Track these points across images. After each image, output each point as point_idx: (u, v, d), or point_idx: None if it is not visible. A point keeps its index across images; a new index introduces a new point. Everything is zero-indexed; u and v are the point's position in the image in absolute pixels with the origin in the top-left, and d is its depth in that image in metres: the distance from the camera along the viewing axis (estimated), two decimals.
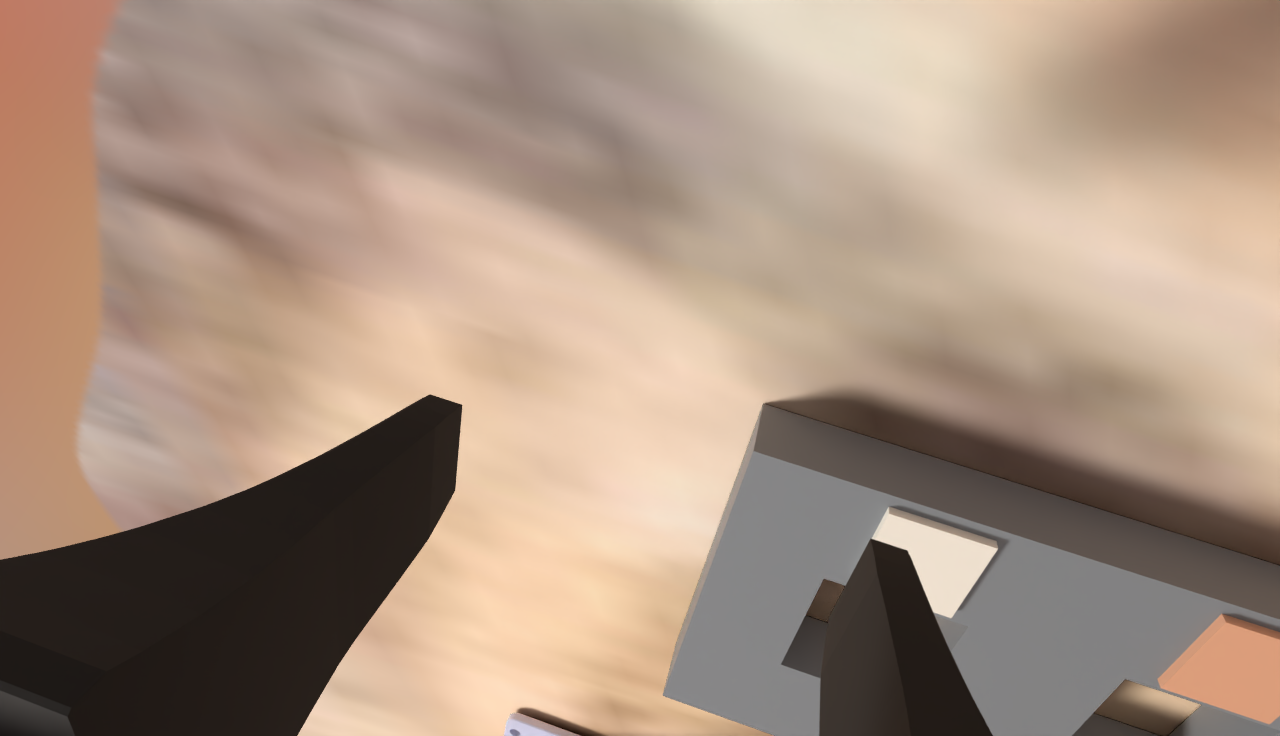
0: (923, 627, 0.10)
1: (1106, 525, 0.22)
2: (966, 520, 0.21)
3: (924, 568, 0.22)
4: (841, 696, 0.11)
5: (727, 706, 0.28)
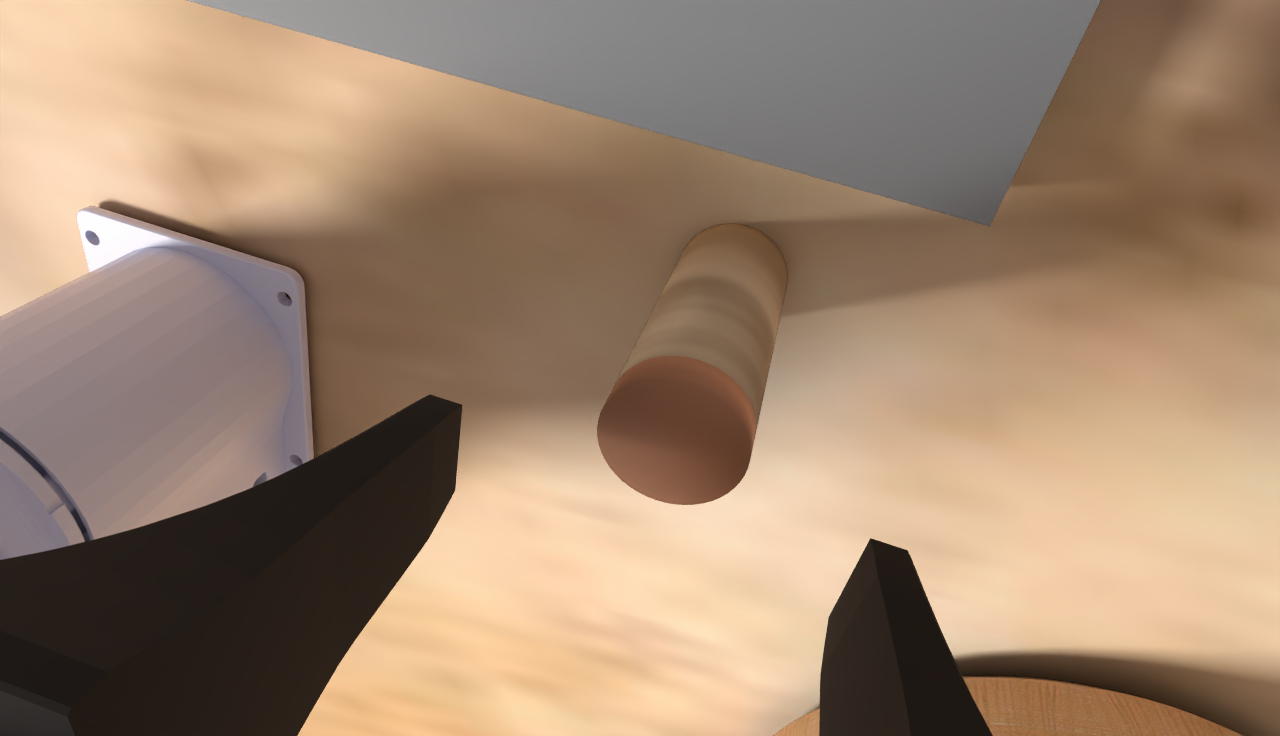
0: (923, 627, 0.10)
1: None
2: None
3: None
4: (841, 697, 0.11)
5: None
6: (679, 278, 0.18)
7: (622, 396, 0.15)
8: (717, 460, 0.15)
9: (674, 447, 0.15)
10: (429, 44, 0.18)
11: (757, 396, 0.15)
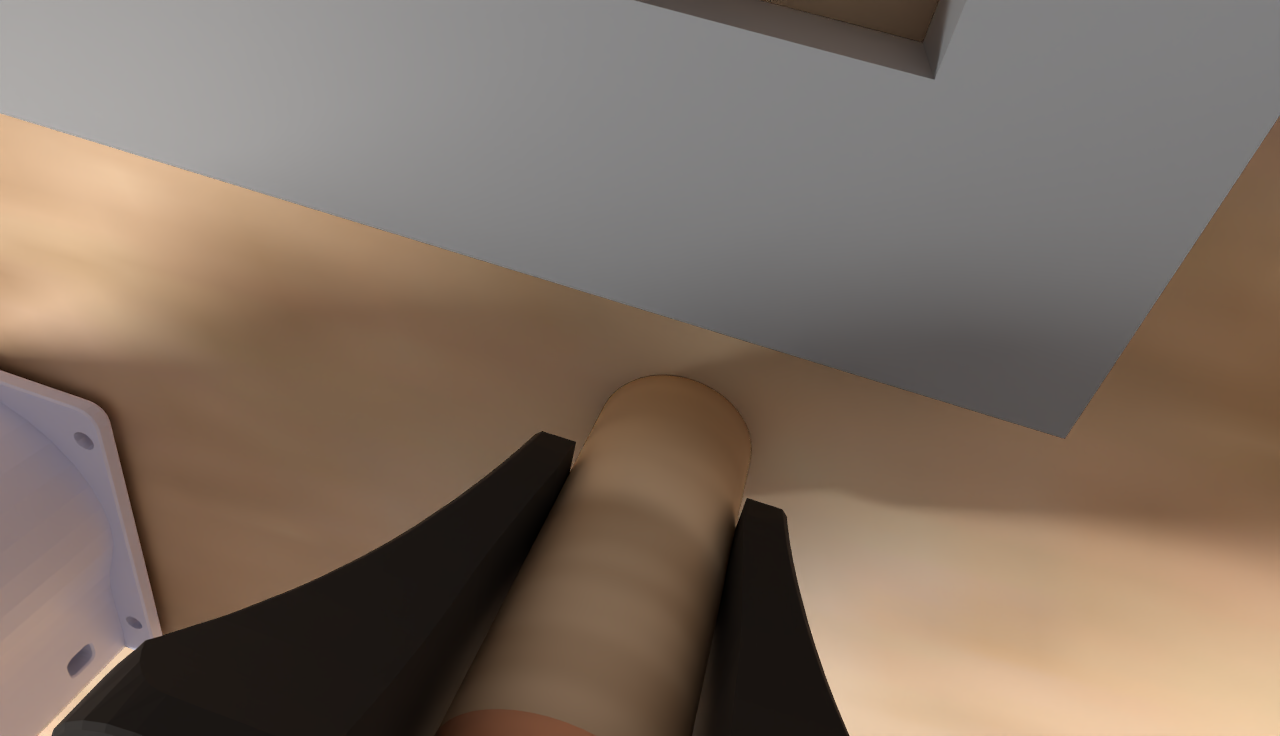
0: (777, 578, 0.11)
1: None
2: None
3: None
4: None
5: None
6: (577, 487, 0.12)
7: None
8: None
9: None
10: (178, 133, 0.11)
11: None
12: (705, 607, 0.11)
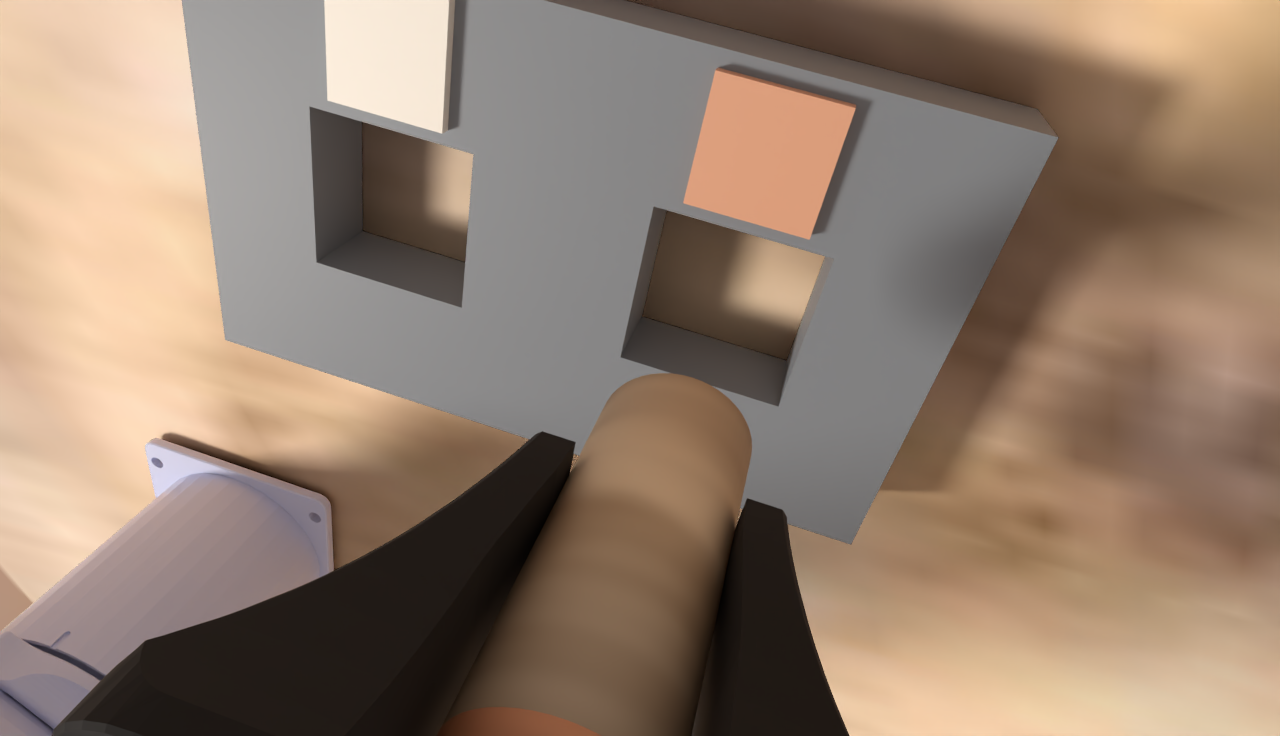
0: (777, 578, 0.11)
1: (616, 3, 0.18)
2: None
3: (388, 52, 0.18)
4: (709, 651, 0.12)
5: (290, 343, 0.24)
6: (578, 486, 0.12)
7: None
8: None
9: None
10: (433, 393, 0.23)
11: None
12: (705, 604, 0.11)
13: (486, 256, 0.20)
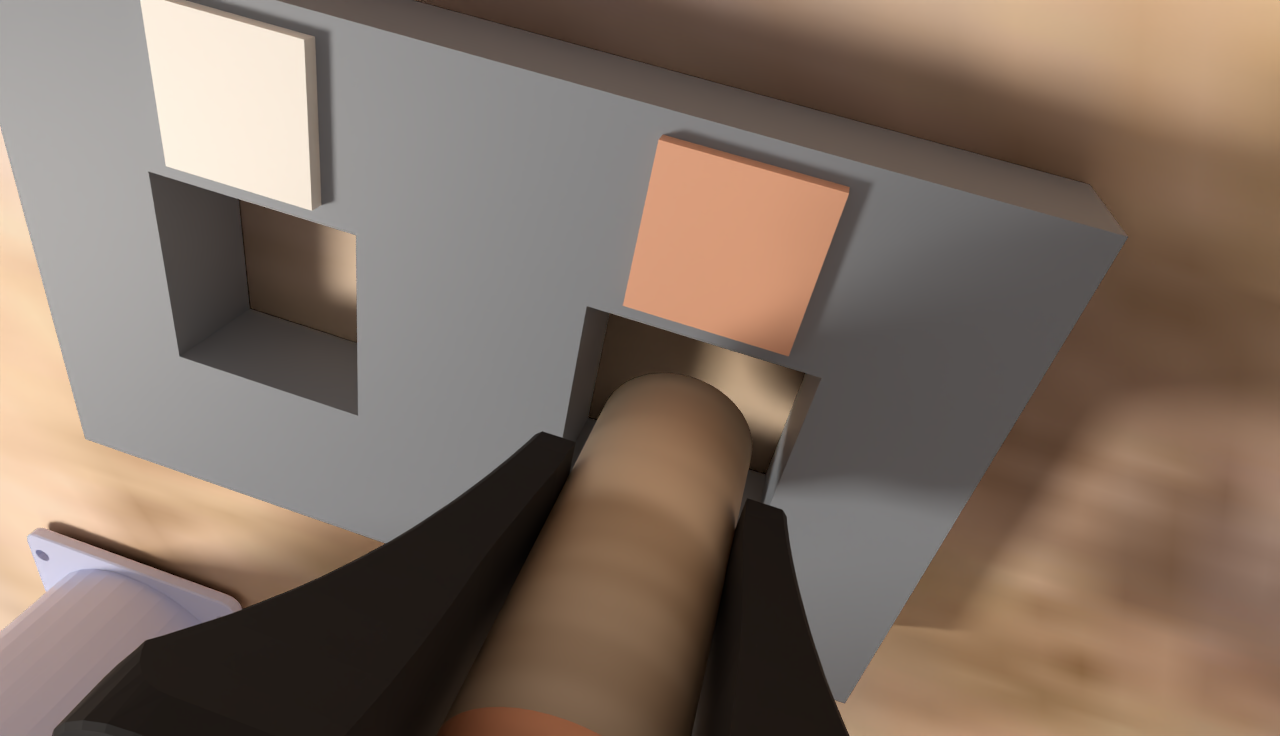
0: (777, 578, 0.11)
1: (536, 43, 0.14)
2: None
3: (234, 108, 0.13)
4: (709, 651, 0.12)
5: (160, 446, 0.19)
6: (578, 485, 0.12)
7: None
8: None
9: None
10: (334, 510, 0.19)
11: None
12: (705, 604, 0.11)
13: (383, 357, 0.16)
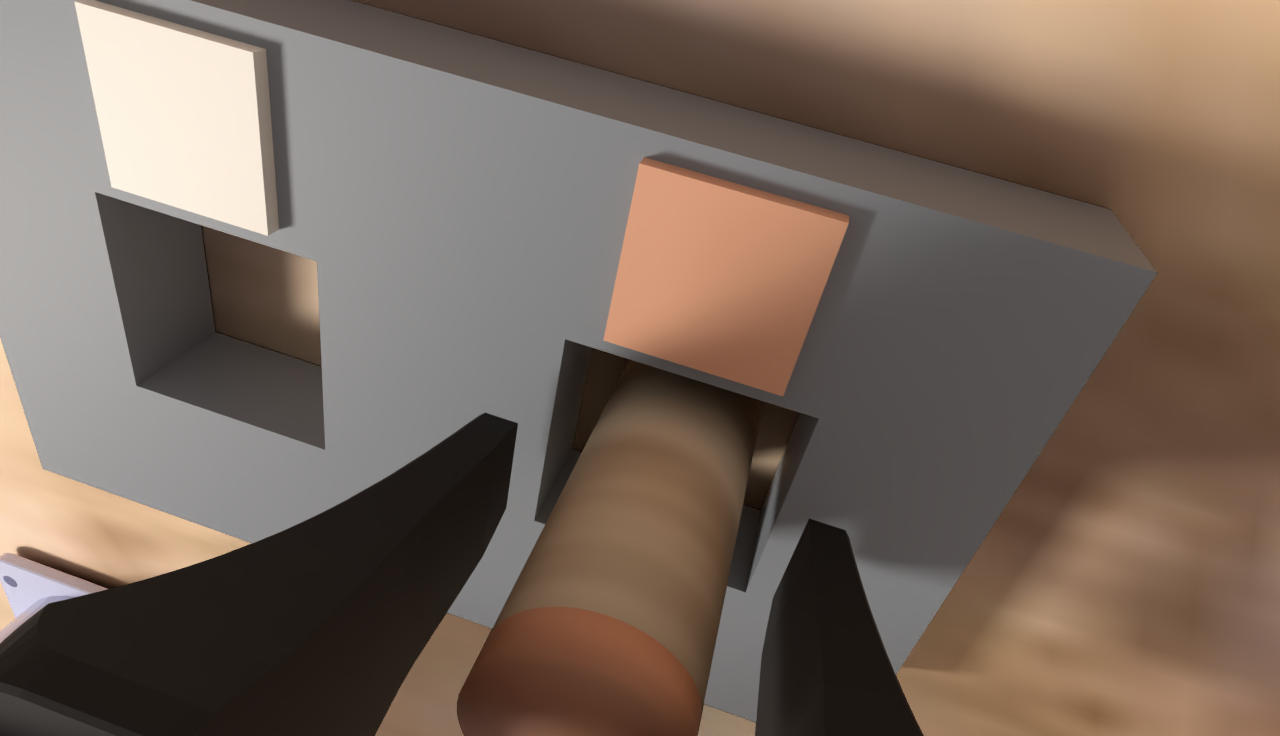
0: (850, 602, 0.11)
1: (509, 55, 0.13)
2: (203, 6, 0.12)
3: (181, 126, 0.12)
4: (775, 673, 0.12)
5: (120, 477, 0.18)
6: (605, 433, 0.13)
7: (489, 678, 0.09)
8: None
9: None
10: None
11: (705, 652, 0.10)
12: (725, 535, 0.12)
13: (349, 390, 0.15)
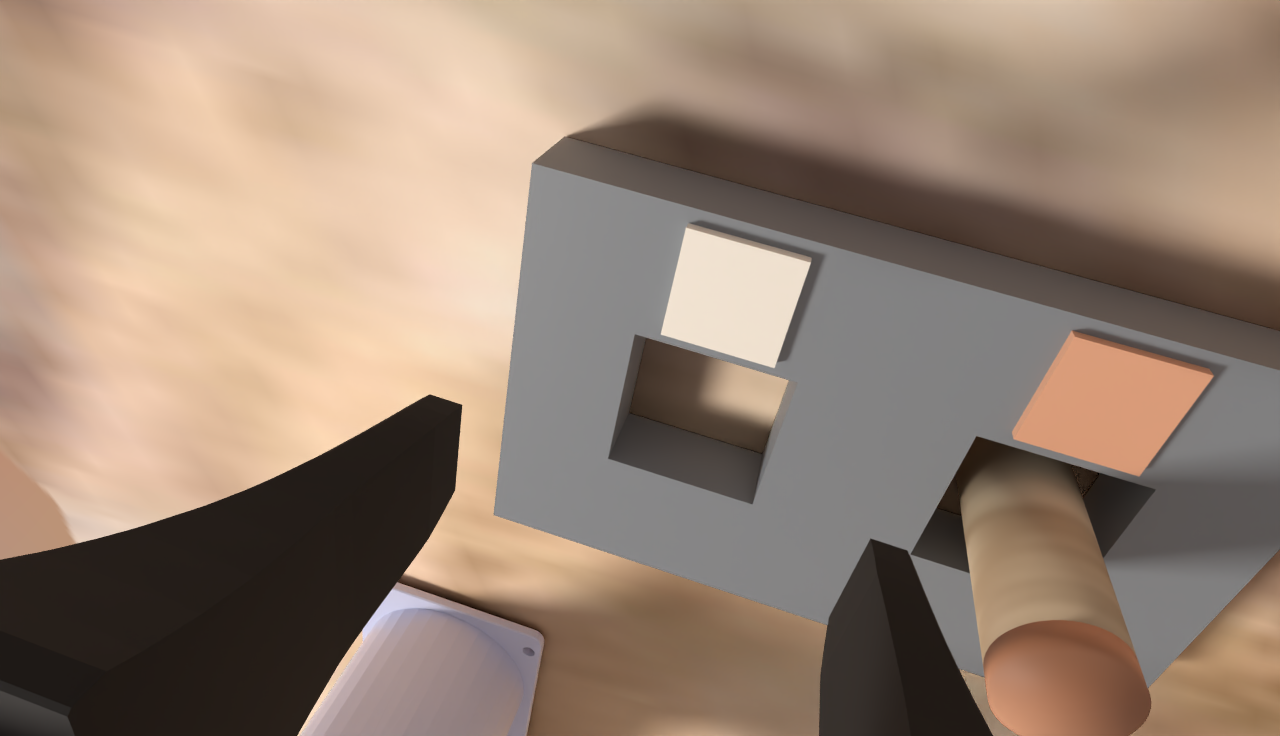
0: (923, 627, 0.10)
1: (948, 250, 0.19)
2: (774, 231, 0.18)
3: (735, 301, 0.19)
4: (841, 697, 0.11)
5: (562, 521, 0.25)
6: (1002, 500, 0.19)
7: (1027, 662, 0.16)
8: (1111, 717, 0.16)
9: (1067, 703, 0.16)
10: (704, 571, 0.24)
11: None
12: (1106, 570, 0.18)
13: (789, 465, 0.21)
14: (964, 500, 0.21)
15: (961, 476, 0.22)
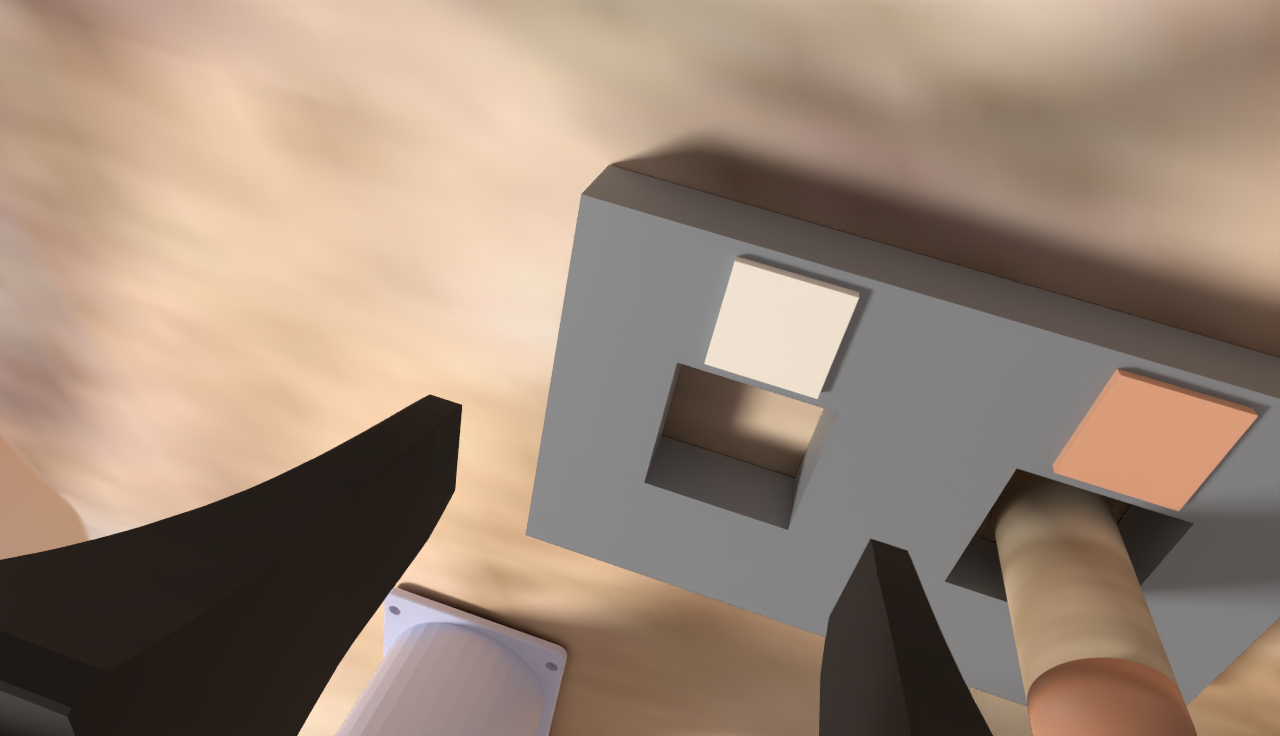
0: (923, 627, 0.10)
1: (992, 285, 0.19)
2: (822, 266, 0.18)
3: (781, 333, 0.19)
4: (841, 697, 0.11)
5: (594, 543, 0.25)
6: (1041, 531, 0.20)
7: (1074, 699, 0.16)
8: None
9: None
10: (736, 594, 0.24)
11: None
12: None
13: (827, 492, 0.21)
14: (1000, 529, 0.21)
15: (996, 504, 0.22)
